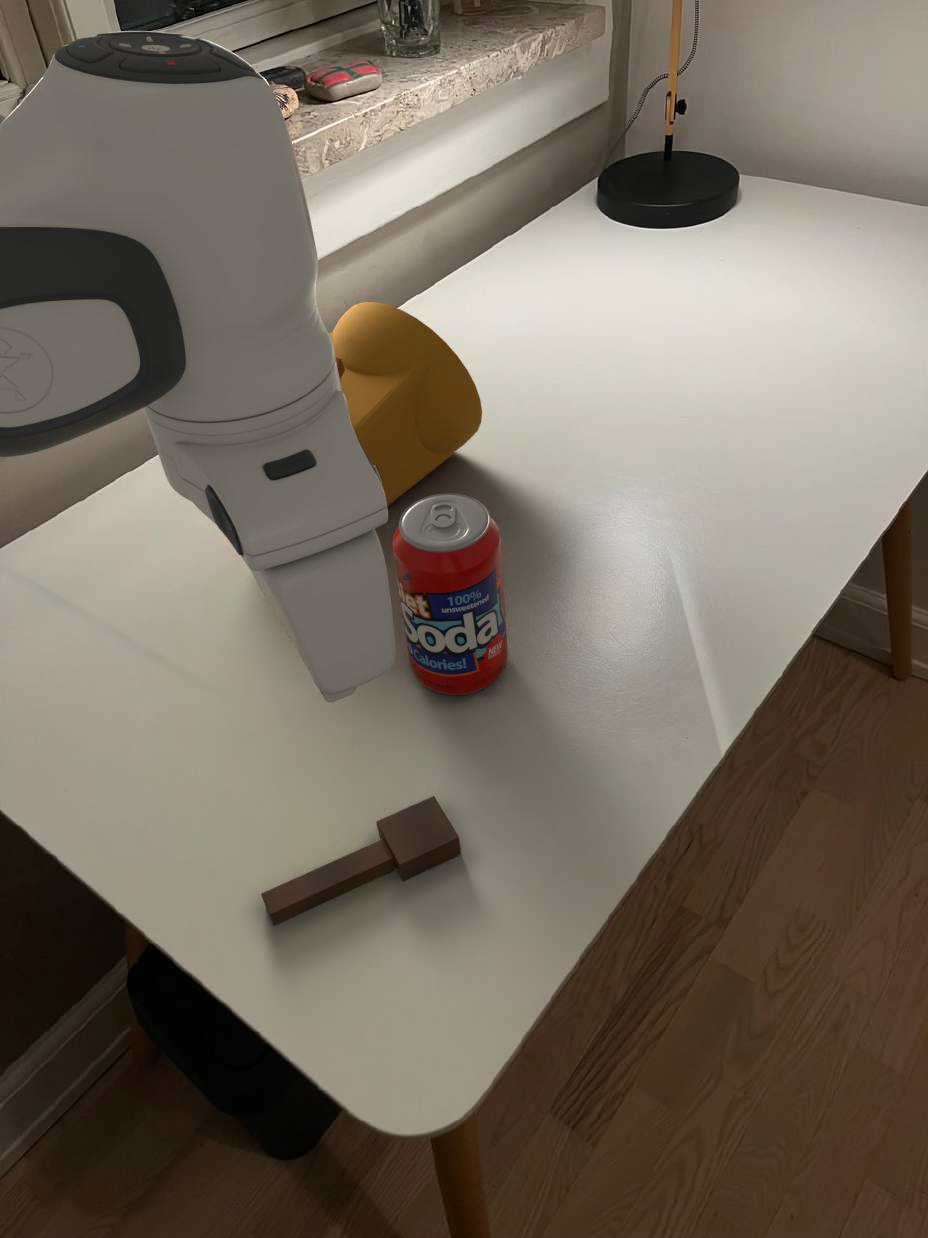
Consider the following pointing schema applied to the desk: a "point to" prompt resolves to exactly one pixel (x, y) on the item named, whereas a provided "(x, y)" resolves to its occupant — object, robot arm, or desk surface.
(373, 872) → the wooden mallet
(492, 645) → the soda can
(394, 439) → the flared yellow plastic housing
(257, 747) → the desk surface
